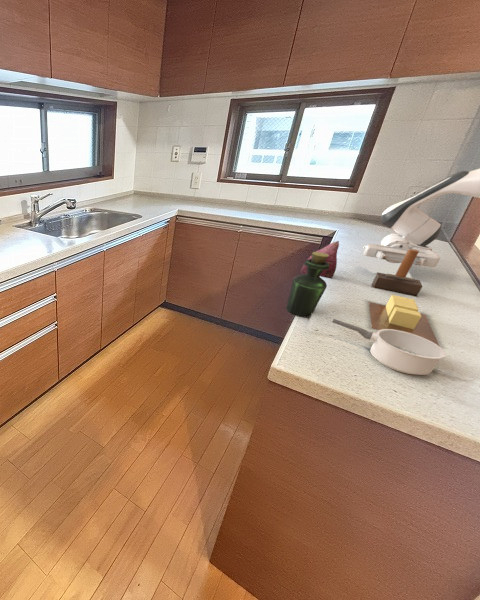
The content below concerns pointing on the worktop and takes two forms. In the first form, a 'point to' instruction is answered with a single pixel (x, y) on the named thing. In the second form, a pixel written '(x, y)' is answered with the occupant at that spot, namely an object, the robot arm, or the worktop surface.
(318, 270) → the potion bottle
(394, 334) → the saucepan
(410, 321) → the butter slice
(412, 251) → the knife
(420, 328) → the cutting board
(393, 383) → the worktop surface
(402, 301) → the butter block
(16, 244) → the worktop surface
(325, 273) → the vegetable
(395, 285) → the dark brown rectangular block
